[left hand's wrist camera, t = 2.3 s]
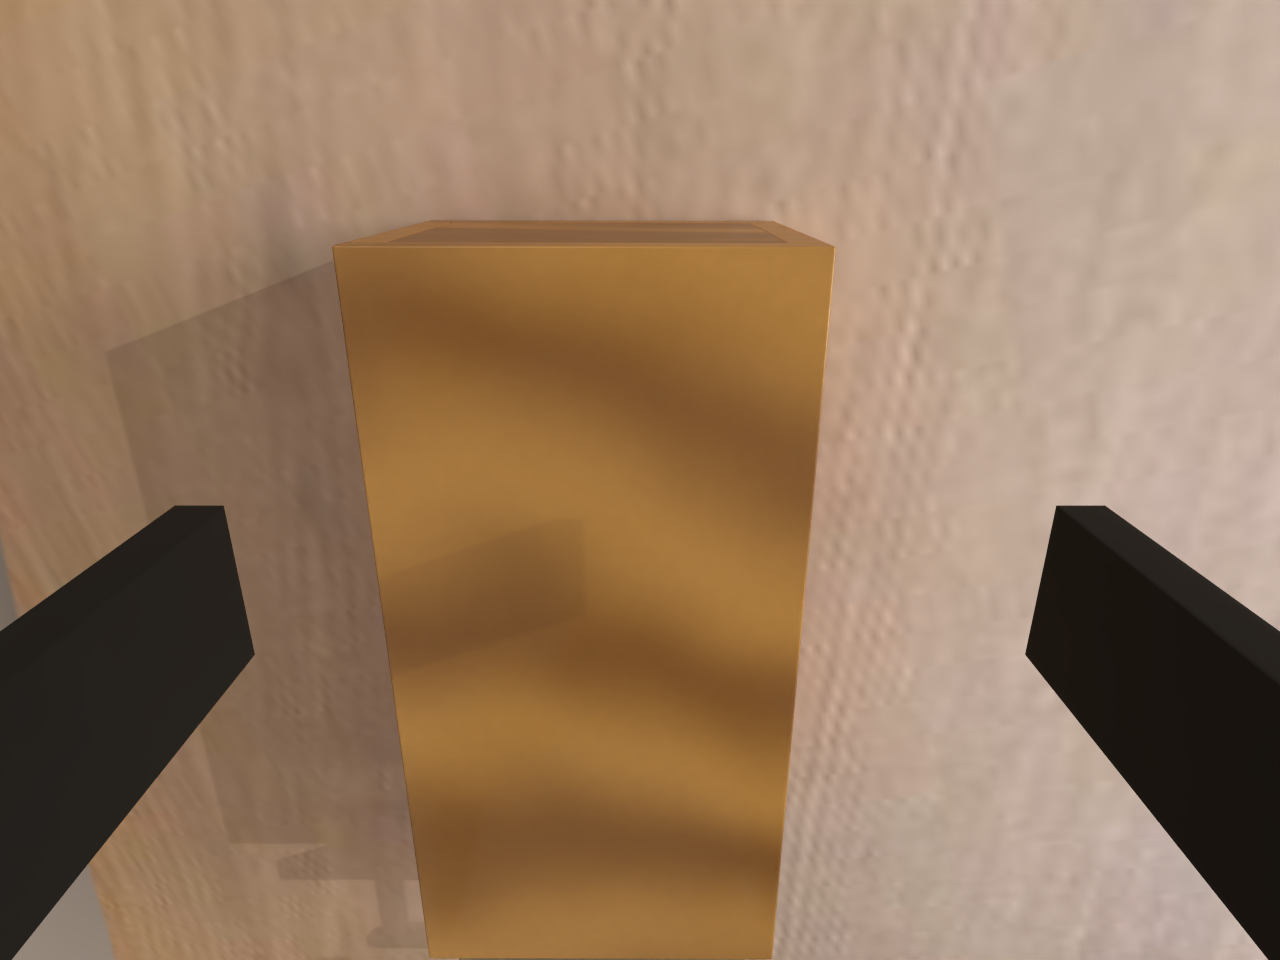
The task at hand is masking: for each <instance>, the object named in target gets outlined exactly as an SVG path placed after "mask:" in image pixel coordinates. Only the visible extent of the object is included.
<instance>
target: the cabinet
mask: <svg viewBox="0 0 1280 960" xmlns="http://www.w3.org/2000/svg"><path fill="white" fill-rule="evenodd" d="M332 249H333V256H334V263H335V271H336V278H337V285H338V293H339V300H340V307H341V315H342V322H343V329H344V336H345V344H346V351H347V358H348V366H349V373H350V380H351V388H352V395H353V402H354V409H355V417H356V424H357V431H358V439H359V446H360V453H361V461H362V468H363V475H364V483H365V490H366V497H367V504H368V512H369V519H370V526H371V534H372V541H373V548H374V556H375V563H376V570H377V577H378V585H379V592H380V599H381V607H382V614H383V621H384V629H385V636H386V643H387V651H388V658H389V665H390V672H391V680H392V687H393V694H394V702H395V709H396V716H397V724H398V731H399V738H400V745H401V753H402V760H403V767H404V775H405V782H406V789H407V797H408V804H409V811H410V819H411V826H412V833H413V840H414V848H415V855H416V862H417V870H418V877H419V884H420V892H421V899H422V906H423V913H424V921H425V928H426V935H427V943H428V950H429V957H430V958H571V959H772V951H773V940H774V929H775V918H776V907H777V896H778V885H779V873H780V862H781V851H782V840H783V829H784V818H785V807H786V796H787V785H788V774H789V763H790V752H791V740H792V729H793V718H794V707H795V696H796V685H797V674H798V663H799V652H800V641H801V630H802V619H803V607H804V596H805V585H806V574H807V563H808V552H809V541H810V530H811V519H812V508H813V497H814V485H815V474H816V463H817V452H818V441H819V430H820V419H821V408H822V397H823V386H824V375H825V364H826V352H827V341H828V330H829V319H830V308H831V297H832V286H833V275H834V264H835V253H836V248H835V247H834V246H832V245H829V244H827V243H825V242H822V241H820V240H817V239H815V238H813V237H810V236H808V235H805V234H803V233H801V232H798V231H796V230H793V229H791V228H789V227H786V226H784V225H781V224H779V223H776V222H774V221H428V222H424V223H420V224H416V225H412V226H408V227H404V228H400V229H397V230H393V231H389V232H385V233H381V234H377V235H373V236H369V237H365V238H361V239H357V240H353V241H350V242H345V243H341V244H337V245H334V246H333V247H332Z"/></svg>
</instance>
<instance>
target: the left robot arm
mask: <svg viewBox="0 0 1280 960" xmlns="http://www.w3.org/2000/svg"><path fill="white" fill-rule="evenodd" d="M254 655H255V653H254V649H253V644H252V639H251V634H250V630H249V625H248V620H247V615H246V610H245V606H244V601H243V596H242V591H241V587H240V582H239V577H238V572H237V568H236V563H235V558H234V553H233V548H232V544H231V539H230V534H229V529H228V525H227V520H226V515H225V510H224V506H174V507H172V508H171V509H170V510H168V511H167V512H166V513H164V514H163V515H161V516H160V517H159V518H157V519H156V520H154V521H153V522H152V523H150V524H149V525H147V526H146V527H145V528H143V529H142V530H141V531H139V532H138V533H136V534H135V535H134V536H132V537H131V538H129V539H128V540H127V541H125V542H124V543H122V544H121V545H120V546H118V547H117V548H116V549H114V550H113V551H111V552H110V553H109V554H107V555H106V556H104V557H103V558H102V559H100V560H99V561H97V562H96V563H95V564H93V565H92V566H91V567H89V568H88V569H86V570H85V571H84V572H82V573H81V574H79V575H78V576H77V577H75V578H74V579H72V580H71V581H70V582H68V583H67V584H66V585H64V586H63V587H61V588H60V589H59V590H57V591H56V592H54V593H53V594H52V595H50V596H49V597H47V598H46V599H45V600H43V601H42V602H41V603H39V604H38V605H36V606H35V607H34V608H32V609H31V610H29V611H28V612H27V613H25V614H24V615H22V616H21V617H20V618H18V619H17V620H16V621H14V622H13V623H11V624H10V625H9V626H7V627H6V628H4V629H3V630H2V631H0V960H12V959H13V957H14V956H15V955H16V954H17V952H18V951H19V950H20V948H21V947H22V946H23V945H24V943H25V942H26V941H27V940H28V938H29V937H30V936H31V935H32V933H33V932H34V931H35V930H36V928H37V927H38V926H39V925H40V923H41V922H42V921H43V920H44V918H45V917H46V916H47V915H48V913H49V912H50V911H51V910H52V908H53V907H54V906H55V905H56V903H57V902H58V901H59V900H60V898H61V897H62V896H63V895H64V893H65V892H66V891H67V889H68V888H69V887H70V886H71V884H72V883H73V882H74V881H75V879H76V878H77V877H78V876H79V874H80V873H81V872H82V871H83V869H84V868H85V867H86V866H87V864H88V863H89V862H90V861H91V859H92V858H93V857H94V856H95V854H96V853H97V852H98V851H99V849H100V848H101V847H102V846H103V844H104V843H105V842H106V841H107V839H108V838H109V837H110V836H111V834H112V833H113V832H114V831H115V829H116V828H117V827H118V825H119V824H120V823H121V822H122V820H123V819H124V818H125V817H126V815H127V814H128V813H129V812H130V810H131V809H132V808H133V807H134V805H135V804H136V803H137V802H138V800H139V799H140V798H141V797H142V795H143V794H144V793H145V792H146V790H147V789H148V788H149V787H150V785H151V784H152V783H153V782H154V780H155V779H156V778H157V777H158V775H159V774H160V773H161V772H162V770H163V769H164V768H165V767H166V765H167V764H168V763H169V761H170V760H171V759H172V758H173V756H174V755H175V754H176V753H177V751H178V750H179V749H180V748H181V746H182V745H183V744H184V743H185V741H186V740H187V739H188V738H189V736H190V735H191V734H192V733H193V731H194V730H195V729H196V728H197V726H198V725H199V724H200V723H201V721H202V720H203V719H204V718H205V716H206V715H207V714H208V713H209V711H210V710H211V709H212V708H213V706H214V705H215V704H216V702H217V701H218V700H219V699H220V697H221V696H222V695H223V694H224V692H225V691H226V690H227V689H228V687H229V686H230V685H231V684H232V682H233V681H234V680H235V679H236V677H237V676H238V675H239V674H240V672H241V671H242V670H243V669H244V667H245V666H246V665H247V664H248V662H249V661H250V660H251V659H252V657H253V656H254ZM1025 655H1026V656H1027V657H1028V659H1029V660H1030V661H1031V662H1032V664H1033V665H1034V666H1035V667H1036V669H1037V670H1038V671H1039V672H1040V674H1041V675H1042V676H1043V677H1044V679H1045V680H1046V681H1047V682H1048V684H1049V685H1050V686H1051V687H1052V689H1053V690H1054V691H1055V692H1056V694H1057V695H1058V696H1059V697H1060V699H1061V700H1062V701H1063V702H1064V704H1065V705H1066V706H1067V708H1068V709H1069V710H1070V711H1071V713H1072V714H1073V715H1074V716H1075V718H1076V719H1077V720H1078V721H1079V723H1080V724H1081V725H1082V726H1083V728H1084V729H1085V730H1086V731H1087V733H1088V734H1089V735H1090V736H1091V738H1092V739H1093V740H1094V741H1095V743H1096V744H1097V745H1098V746H1099V748H1100V749H1101V750H1102V751H1103V753H1104V754H1105V755H1106V756H1107V758H1108V759H1109V760H1110V761H1111V763H1112V764H1113V765H1114V767H1115V768H1116V769H1117V770H1118V772H1119V773H1120V774H1121V775H1122V777H1123V778H1124V779H1125V780H1126V782H1127V783H1128V784H1129V785H1130V787H1131V788H1132V789H1133V790H1134V792H1135V793H1136V794H1137V795H1138V797H1139V798H1140V799H1141V800H1142V802H1143V803H1144V804H1145V805H1146V807H1147V808H1148V809H1149V810H1150V812H1151V813H1152V814H1153V815H1154V817H1155V818H1156V819H1157V820H1158V822H1159V823H1160V824H1161V825H1162V827H1163V828H1164V829H1165V831H1166V832H1167V833H1168V834H1169V836H1170V837H1171V838H1172V839H1173V841H1174V842H1175V843H1176V844H1177V846H1178V847H1179V848H1180V849H1181V851H1182V852H1183V853H1184V854H1185V856H1186V857H1187V858H1188V859H1189V861H1190V862H1191V863H1192V864H1193V866H1194V867H1195V868H1196V869H1197V871H1198V872H1199V873H1200V874H1201V876H1202V877H1203V878H1204V879H1205V881H1206V882H1207V883H1208V884H1209V886H1210V887H1211V888H1212V890H1213V891H1214V892H1215V893H1216V895H1217V896H1218V897H1219V898H1220V900H1221V901H1222V902H1223V903H1224V905H1225V906H1226V907H1227V908H1228V910H1229V911H1230V912H1231V913H1232V915H1233V916H1234V917H1235V918H1236V920H1237V921H1238V922H1239V923H1240V925H1241V926H1242V927H1243V928H1244V930H1245V931H1246V932H1247V933H1248V935H1249V936H1250V937H1251V938H1252V940H1253V941H1254V942H1255V943H1256V945H1257V946H1258V947H1259V948H1260V950H1261V951H1262V952H1263V954H1264V955H1265V956H1266V957H1267V959H1268V960H1280V631H1278V630H1277V629H1276V628H1274V627H1273V626H1271V625H1270V624H1269V623H1267V622H1266V621H1264V620H1263V619H1262V618H1260V617H1259V616H1258V615H1256V614H1255V613H1253V612H1252V611H1251V610H1249V609H1248V608H1246V607H1245V606H1244V605H1242V604H1241V603H1239V602H1238V601H1237V600H1235V599H1234V598H1233V597H1231V596H1230V595H1228V594H1227V593H1226V592H1224V591H1223V590H1221V589H1220V588H1219V587H1217V586H1216V585H1214V584H1213V583H1212V582H1210V581H1209V580H1208V579H1206V578H1205V577H1203V576H1202V575H1201V574H1199V573H1198V572H1196V571H1195V570H1194V569H1192V568H1191V567H1189V566H1188V565H1187V564H1185V563H1184V562H1183V561H1181V560H1180V559H1178V558H1177V557H1176V556H1174V555H1173V554H1171V553H1170V552H1169V551H1167V550H1166V549H1164V548H1163V547H1162V546H1160V545H1159V544H1158V543H1156V542H1155V541H1153V540H1152V539H1151V538H1149V537H1148V536H1146V535H1145V534H1144V533H1142V532H1141V531H1139V530H1138V529H1137V528H1135V527H1134V526H1133V525H1131V524H1130V523H1128V522H1127V521H1126V520H1124V519H1123V518H1121V517H1120V516H1119V515H1117V514H1116V513H1114V512H1113V511H1112V510H1110V509H1109V508H1108V507H1106V506H1056V510H1055V515H1054V520H1053V525H1052V529H1051V534H1050V539H1049V544H1048V548H1047V553H1046V558H1045V563H1044V568H1043V572H1042V577H1041V582H1040V587H1039V591H1038V596H1037V601H1036V606H1035V610H1034V615H1033V620H1032V625H1031V630H1030V634H1029V639H1028V644H1027V649H1026V653H1025Z"/></svg>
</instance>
